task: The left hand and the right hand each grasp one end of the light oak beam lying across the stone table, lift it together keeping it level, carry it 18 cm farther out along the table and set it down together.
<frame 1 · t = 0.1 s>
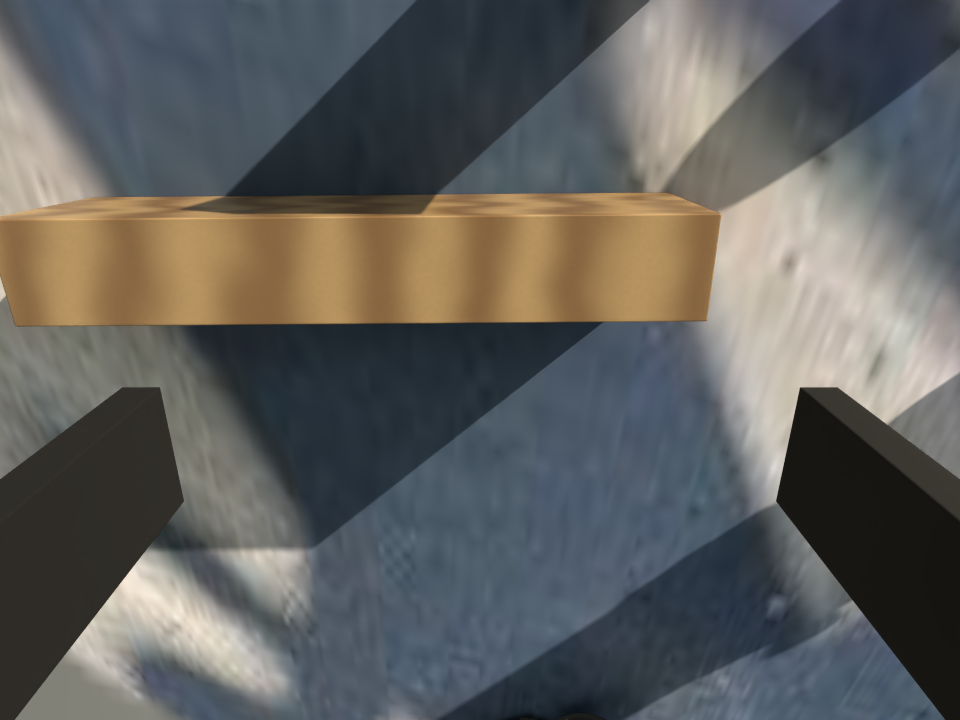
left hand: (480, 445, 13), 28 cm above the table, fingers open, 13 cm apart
oak beam: (382, 239, 39), on the table
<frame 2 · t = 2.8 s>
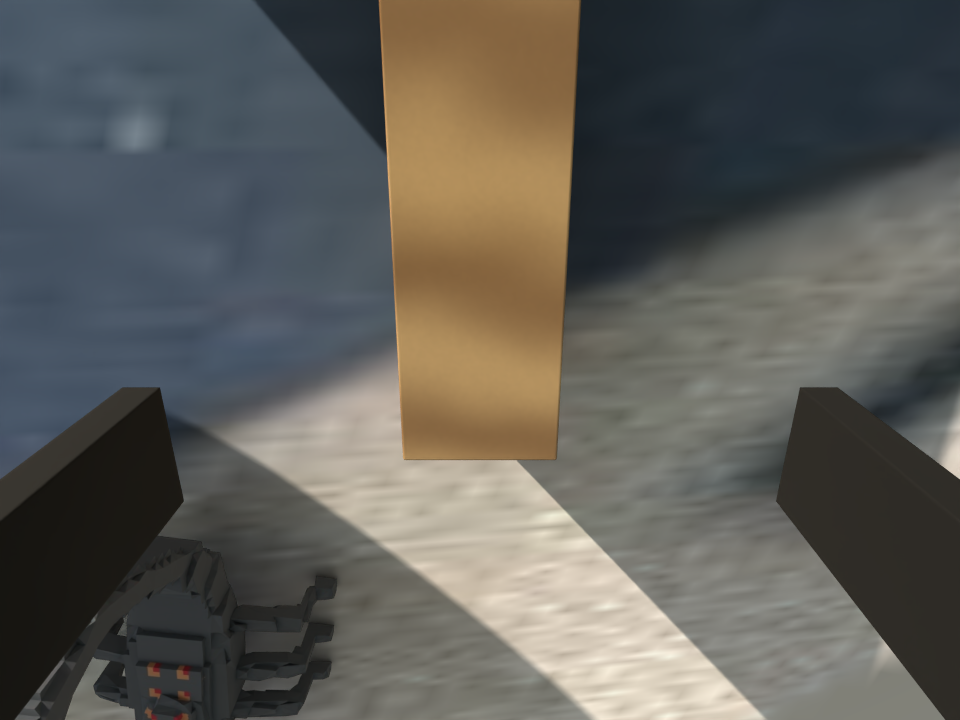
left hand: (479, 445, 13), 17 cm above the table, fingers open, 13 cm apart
toy: (211, 629, 36), on the table
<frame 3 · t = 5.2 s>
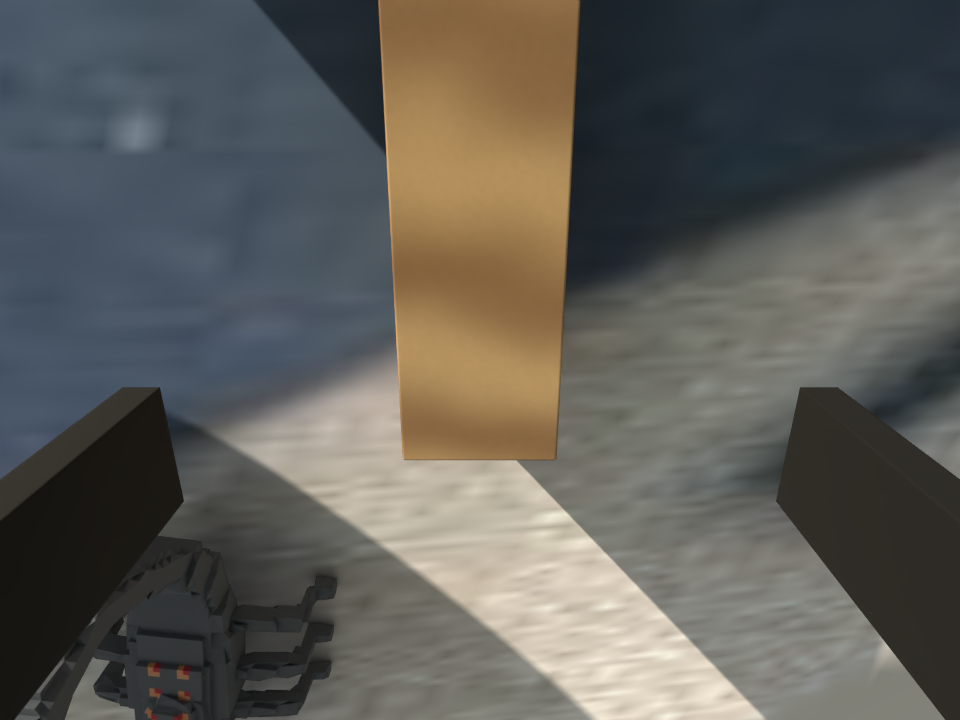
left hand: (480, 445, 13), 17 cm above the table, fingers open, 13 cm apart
toy: (211, 629, 36), on the table
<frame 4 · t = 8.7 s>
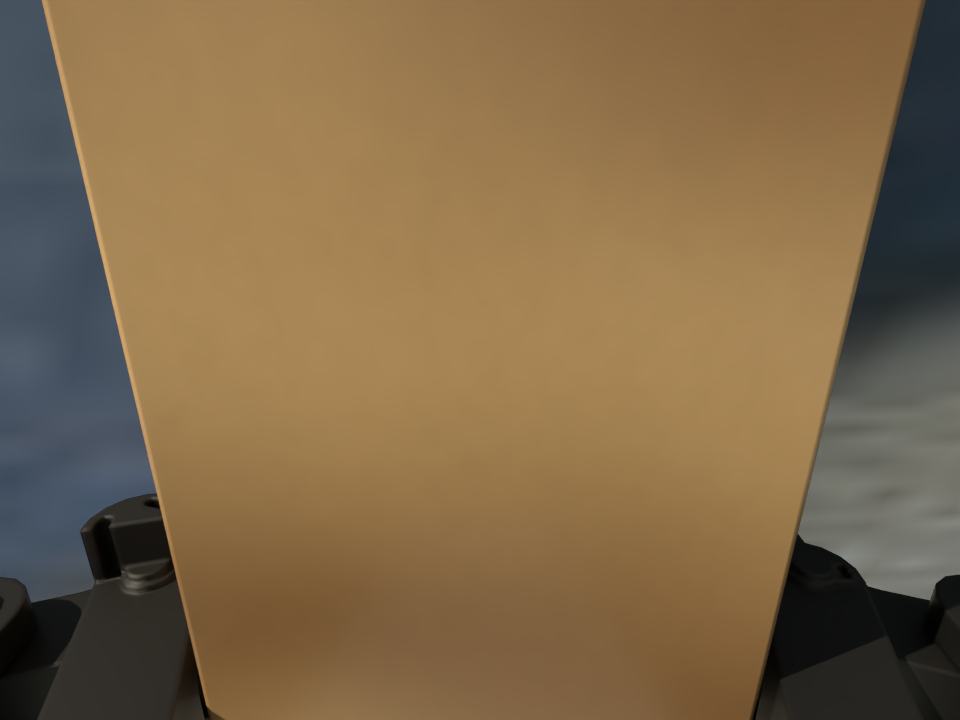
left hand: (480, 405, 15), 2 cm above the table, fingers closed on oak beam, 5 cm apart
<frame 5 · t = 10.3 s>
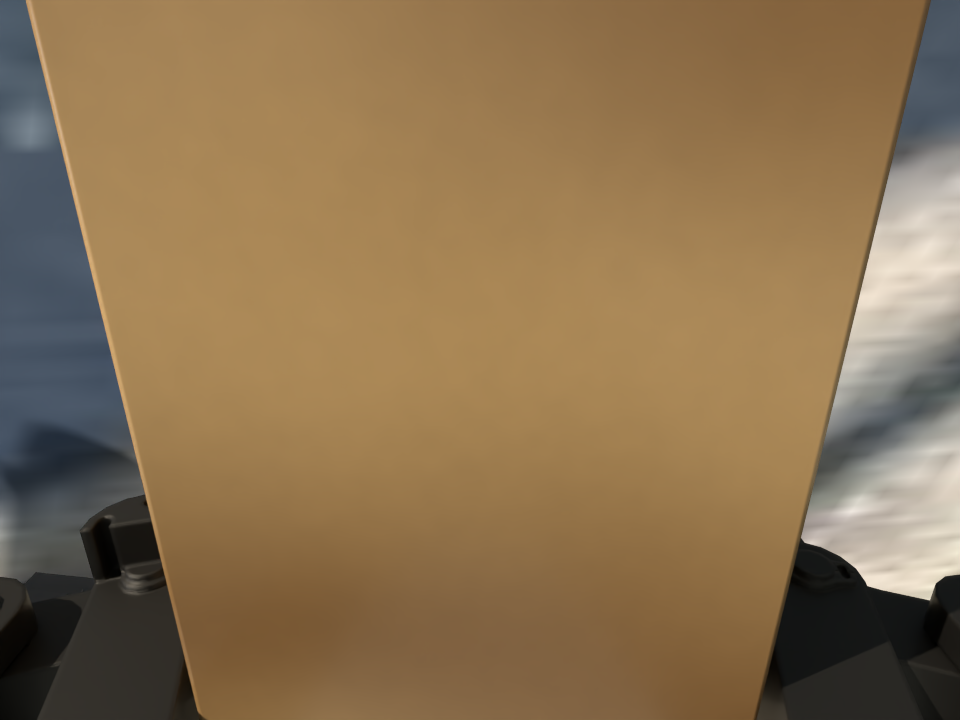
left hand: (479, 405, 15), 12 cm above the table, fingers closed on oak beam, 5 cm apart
toy: (147, 665, 34), on the table
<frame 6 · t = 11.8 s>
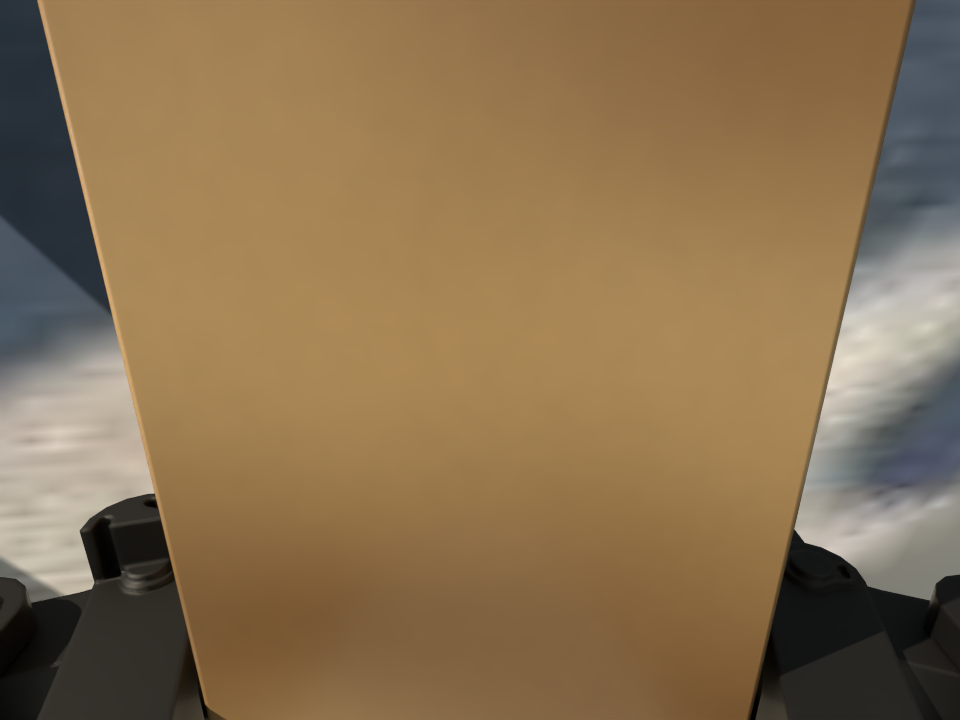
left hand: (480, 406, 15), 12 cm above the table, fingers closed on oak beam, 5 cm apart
when the left hand's fingers open (0 cm above the table, at t = 15.3 s): oak beam stays where it is, on the table.
when the right hand's fingers open (4 cm above the table, at t = 15.5 s): oak beam stays where it is, on the table.
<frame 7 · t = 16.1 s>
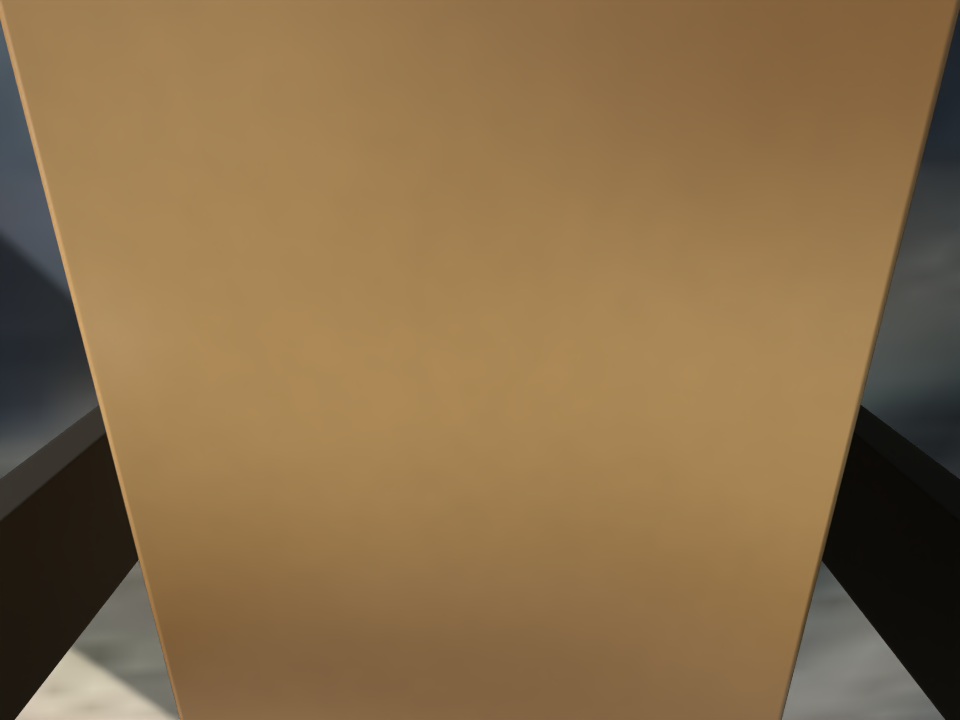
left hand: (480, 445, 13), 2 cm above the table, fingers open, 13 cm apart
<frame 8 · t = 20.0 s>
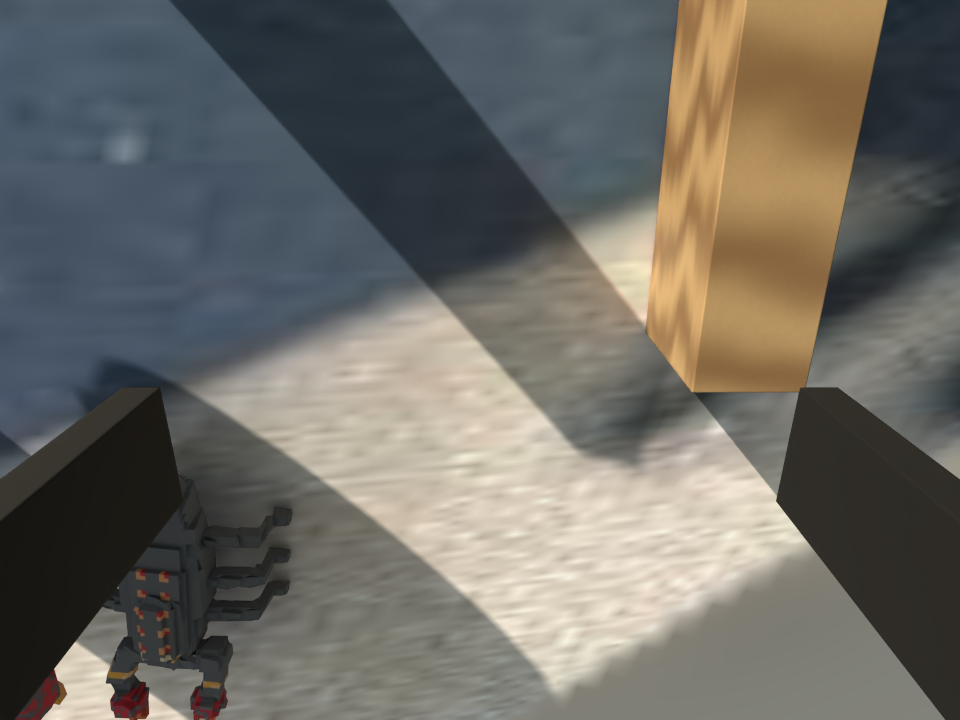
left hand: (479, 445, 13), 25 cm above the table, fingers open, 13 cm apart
toy: (190, 554, 44), on the table
oak beam: (732, 0, 31), on the table
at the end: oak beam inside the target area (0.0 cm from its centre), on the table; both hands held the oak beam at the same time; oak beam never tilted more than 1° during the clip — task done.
